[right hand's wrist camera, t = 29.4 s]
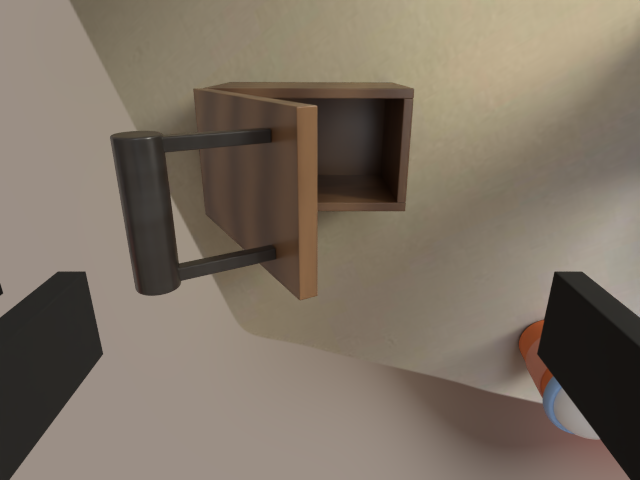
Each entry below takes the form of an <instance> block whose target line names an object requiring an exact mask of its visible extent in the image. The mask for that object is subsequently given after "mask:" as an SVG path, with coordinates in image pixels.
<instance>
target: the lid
mask: <svg viewBox="0 0 640 480" xmlns="http://www.w3.org/2000/svg"><path fill="white" fill-rule="evenodd" d="M194 99H195V110H196V120H197V130H198V132H197V133H183V134H169V135H162V133H160V132H155V131H131V132H122V133H117V134H113V135H111V136H110V139H111V145H112V151H113V157H114V163H115V169H116V175H117V181H118V187H119V193H120V199H121V205H122V210H123V216H124V222H125V228H126V234H127V240H128V246H129V252H130V258H131V264H132V270H133V275H134V282H135V287H136V290H137V292H138V293H140V294H143V295H148V296H155V295H162V294H166V293H169V292H172V291H174V290H175V289H177V288H178V287H179V286H180V284H181V281H182V280H186V279H191V278H195V277H200V276H204V275H208V274H213V273H218V272H222V271H227V270H231V269H235V268H240V267H244V266H249V265H253V264H258V263H260V264H261V265H262V266H263V267H264V268H265V269H266V270H267V271H268V272H269V273H270V274H272V275H273V276H274V277H275V278H276V279H277V280H278V281H279V282H280V283H281V284H282V285H284V286H285V287H286V288H287V289H288V290H289V291H290V292H291V293H292V294H293V295H294V296H296V297H297V298H298V299H299V300H303V299H307V298H310V297H314V296H317V106H316V105H310V104H304V103H297V102H291V101H285V100H278V99H272V98H265V97H259V96H253V95H246V94H240V93H233V92H227V91H221V90H214V89H208V88H203V89H194ZM196 149H199V151H200V161H201V171H202V182H203V192H204V202H205V213H206V215H207V216H208V217H209V218H210V219H212V220H213V221H214V222H215V223H216V224H217V225H218V226H219V227H220V228H221V229H222V230H224V231H225V232H226V233H227V234H228V235H229V236H230V237H231V238H232V239H233V240H234V241H236V242H237V243H238V244H239V245H240V246H241V247H242V248H243V249H244V250H243V251H238V252H233V253H228V254H223V255H218V256H214V257H209V258H204V259H199V260H194V261H189V262H184V263H180V264H179V262H178V254H177V246H176V238H175V230H174V222H173V214H172V206H171V198H170V190H169V182H168V174H167V166H166V158H165V152H174V151H185V150H196Z"/></svg>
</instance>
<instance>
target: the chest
mask: <svg viewBox="0 0 640 480" xmlns="http://www.w3.org/2000/svg"><path fill="white" fill-rule="evenodd" d="M206 88H208V89H214V90H221V91H227V92H233V93H240V94H246V95H253V96H259V97H265V98H272V99H278V100H285V101H291V102H297V103H304V104H310V105H316V106H317V211H405V204H406V203H405V202H406V190H407V176H408V163H409V150H410V137H411V124H412V110H413V98H414V89H413V88H410V87H406V86H402V85H399V84H395V83H288V82H229V83H225V84H220V85H215V86H211V87H206Z"/></svg>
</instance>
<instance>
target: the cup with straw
mask: <svg viewBox="0 0 640 480" xmlns="http://www.w3.org/2000/svg"><path fill="white" fill-rule="evenodd" d="M543 324H544V320H541V321H538V322H536V323H534V324H532V325H530V326H529V327H528V328H527V329H526V330H525V331H524V332H523V333H522V335H521V337H520V340H519V349H520V352H521V354H522V356H523V358H524V360H525V362H526V366H527V369H528V371H529V373H530V375H531V377H532V379H533V381H534V383H535V385H536V387H537V389H538V391H539V393H540V394H541V396H542V398H543V407H544V410H545V413H546V415H547V416H548V418H549V419H550V421H551V422H552V423H553V424H554V425H555V426H557V427H558V428H560V429H561V430H563V431H565V432H568V433H571V434H576V435H578V436H581V437H584V438H588V439H600V438H599V437H598V435H597V434H596V433H595V431H594V430H593V429H592V427H591V426H590V425H589V423H588V422H587V421H586V419H585V418H584V416H583V415H582V414H581V412H580V411H579V410H578V408H577V407H576V406H575V404H574V403H573V402H572V400H571V399H570V398H569V396H568V395H567V394H566V392H565V391H564V390H563V388H562V387H561V386H560V384H559V383H558V382H557V380H556V379H555V378H554V376H553V375H552V374H551V372H550V371H549V369H548V368H547V367H546V365H545V364H544V363H543V361H542V360H541V359H540V357H539V356H538V355H537V352H538V347H539V342H540V338H541V333H542V328H543Z"/></svg>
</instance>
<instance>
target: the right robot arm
mask: <svg viewBox="0 0 640 480" xmlns="http://www.w3.org/2000/svg"><path fill="white" fill-rule="evenodd" d="M102 355H103V352H102V347H101V342H100V338H99V333H98V328H97V324H96V319H95V314H94V310H93V305H92V300H91V296H90V291H89V286H88V282H87V277H86V273H85V272H57V273H56V274H54V275H53V276H52V277H51V278H49V279H48V280H47V281H46V282H44V283H43V284H42V285H41V286H39V287H38V288H37V289H36V290H34V291H33V292H32V293H31V294H29V295H28V296H27V297H26V298H24V299H23V300H22V301H21V302H19V303H18V304H17V305H16V306H14V307H13V308H12V309H11V310H9V311H8V312H7V313H6V314H4V315H3V316H2V317H1V318H0V480H10V478H11V477H12V475H13V474H14V473H15V471H16V470H17V469H18V467H19V466H20V465H21V463H22V462H23V461H24V459H25V458H26V457H27V455H28V454H29V453H30V451H31V450H32V449H33V447H34V446H35V445H36V443H37V442H38V441H39V439H40V438H41V437H42V435H43V434H44V433H45V431H46V430H47V429H48V427H49V426H50V425H51V423H52V422H53V420H54V419H55V418H56V416H57V415H58V414H59V412H60V411H61V410H62V408H63V407H64V406H65V404H66V403H67V402H68V400H69V399H70V398H71V396H72V395H73V394H74V392H75V391H76V390H77V388H78V387H79V386H80V384H81V383H82V382H83V380H84V379H85V378H86V376H87V375H88V374H89V372H90V371H91V369H92V368H93V367H94V365H95V364H96V363H97V361H98V360H99V359H100V357H101V356H102ZM537 355H538V356H539V357H540V359H541V360H542V361H543V363H544V364H545V365H546V367H547V368H548V369H549V371H550V372H551V374H552V375H553V376H554V378H555V379H556V380H557V382H558V383H559V384H560V386H561V387H562V388H563V390H564V391H565V392H566V394H567V395H568V396H569V398H570V399H571V400H572V402H573V403H574V404H575V406H576V407H577V408H578V410H579V411H580V412H581V414H582V415H583V416H584V418H585V419H586V421H587V422H588V423H589V425H590V426H591V427H592V429H593V430H594V431H595V433H596V434H597V435H598V437H599V438H600V439H601V440H602V442H603V443H604V445H605V446H606V447H607V449H608V450H609V451H610V453H611V454H612V455H613V457H614V458H615V459H616V461H617V462H618V463H619V465H620V466H621V467H622V469H623V470H624V471H625V473H626V474H627V475H628V477H629V478H630V480H640V318H639V317H638V316H637V315H636V314H634V313H633V312H632V311H631V310H629V309H628V308H627V307H626V306H624V305H623V304H622V303H621V302H619V301H618V300H617V299H616V298H614V297H613V296H612V295H611V294H609V293H608V292H607V291H606V290H604V289H603V288H602V287H601V286H599V285H598V284H597V283H596V282H594V281H593V280H592V279H591V278H589V277H588V276H587V275H586V274H584V273H583V272H554V277H553V282H552V286H551V291H550V296H549V300H548V305H547V310H546V314H545V319H544V324H543V328H542V333H541V338H540V342H539V347H538V352H537Z"/></svg>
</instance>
